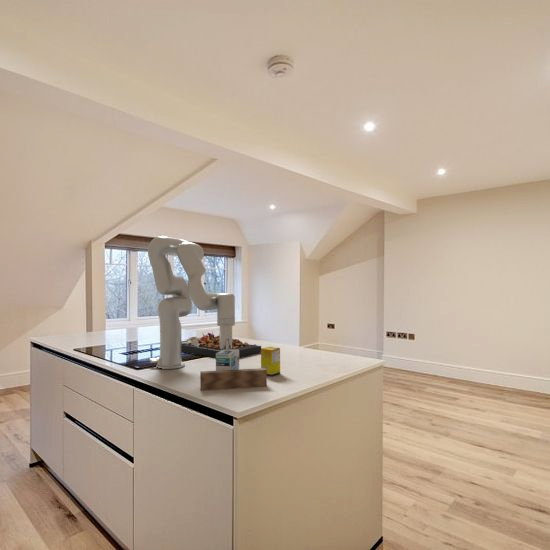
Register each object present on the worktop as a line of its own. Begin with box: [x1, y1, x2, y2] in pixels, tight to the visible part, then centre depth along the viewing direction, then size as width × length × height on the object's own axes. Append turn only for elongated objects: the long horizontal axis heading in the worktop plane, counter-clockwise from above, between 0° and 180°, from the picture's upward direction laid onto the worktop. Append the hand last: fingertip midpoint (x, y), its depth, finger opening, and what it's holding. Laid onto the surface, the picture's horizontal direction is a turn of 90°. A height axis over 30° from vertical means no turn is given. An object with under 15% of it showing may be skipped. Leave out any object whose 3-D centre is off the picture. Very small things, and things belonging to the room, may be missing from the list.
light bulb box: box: [215, 349, 240, 371], centre depth 148 cm, size 11×7×11 cm, turn 168°
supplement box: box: [260, 346, 281, 377], centre depth 154 cm, size 6×6×11 cm
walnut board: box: [199, 367, 268, 391], centre depth 135 cm, size 24×3×6 cm, turn 102°
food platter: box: [181, 332, 262, 359], centre depth 205 cm, size 45×25×10 cm, turn 52°
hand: (226, 364), depth 158 cm, fingers closed
